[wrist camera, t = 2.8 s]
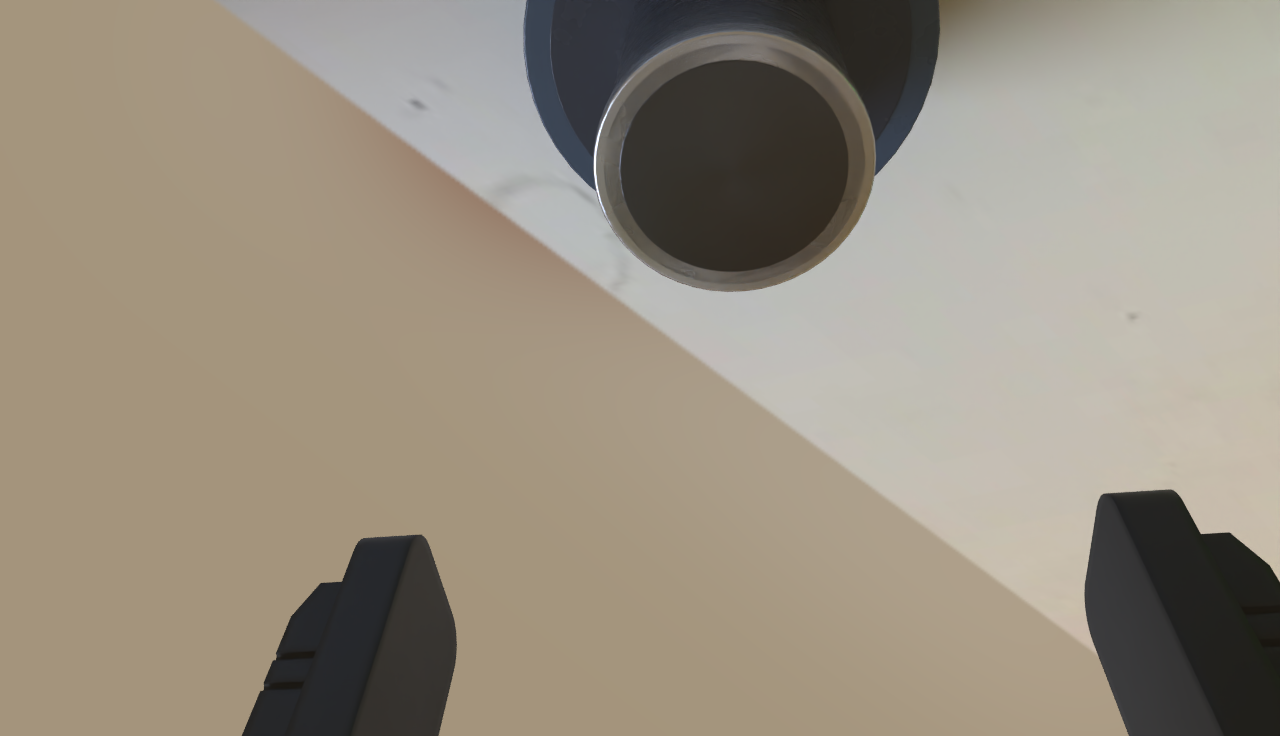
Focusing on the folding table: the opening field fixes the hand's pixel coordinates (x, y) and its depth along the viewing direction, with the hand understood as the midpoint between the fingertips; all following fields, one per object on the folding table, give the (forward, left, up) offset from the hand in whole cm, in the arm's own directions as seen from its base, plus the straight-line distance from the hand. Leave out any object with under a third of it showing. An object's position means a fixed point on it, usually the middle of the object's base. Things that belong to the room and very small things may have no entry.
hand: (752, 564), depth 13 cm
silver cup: (0, 0, -18) cm, 18 cm away
